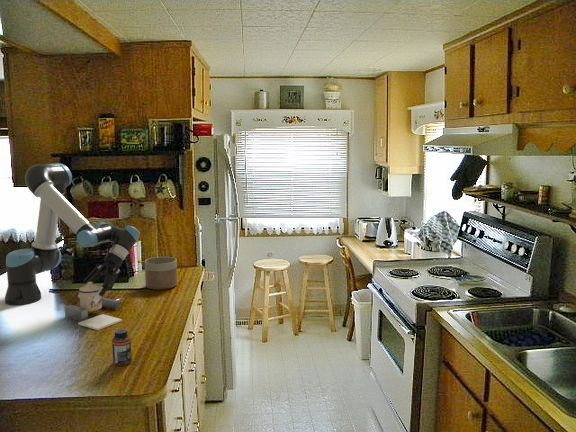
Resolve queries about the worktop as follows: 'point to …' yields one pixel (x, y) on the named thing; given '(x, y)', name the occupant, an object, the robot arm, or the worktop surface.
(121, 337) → the supplement bottle
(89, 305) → the teacup with lid
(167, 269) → the planter
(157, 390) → the worktop surface
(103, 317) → the tile
